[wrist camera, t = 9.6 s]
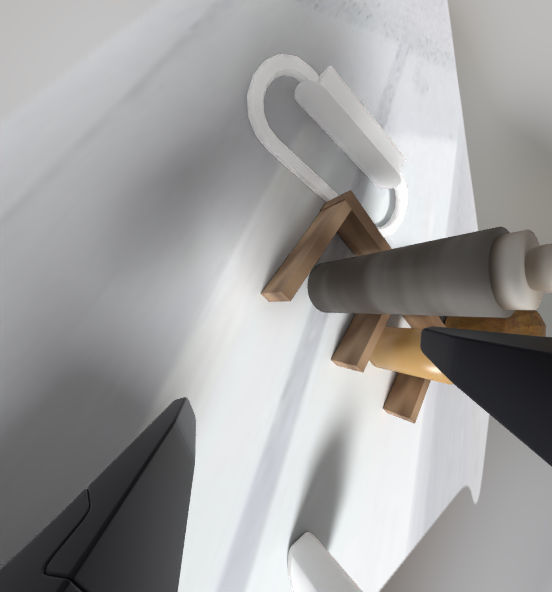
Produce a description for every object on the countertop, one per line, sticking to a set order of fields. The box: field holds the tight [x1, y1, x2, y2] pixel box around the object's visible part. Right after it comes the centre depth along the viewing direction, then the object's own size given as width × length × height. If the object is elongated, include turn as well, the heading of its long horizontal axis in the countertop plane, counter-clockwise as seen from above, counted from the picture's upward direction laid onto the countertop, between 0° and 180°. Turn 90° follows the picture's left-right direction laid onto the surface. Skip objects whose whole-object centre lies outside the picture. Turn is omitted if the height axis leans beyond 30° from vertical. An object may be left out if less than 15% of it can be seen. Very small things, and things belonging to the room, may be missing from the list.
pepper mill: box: [308, 227, 552, 318], centre depth 18 cm, size 5×5×16 cm
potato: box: [444, 310, 546, 337], centre depth 33 cm, size 8×12×9 cm
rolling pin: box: [247, 53, 408, 239], centre depth 24 cm, size 20×8×4 cm, turn 64°
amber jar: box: [369, 327, 453, 384], centre depth 25 cm, size 4×4×8 cm
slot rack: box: [261, 190, 446, 423], centre depth 25 cm, size 11×20×3 cm, turn 50°
